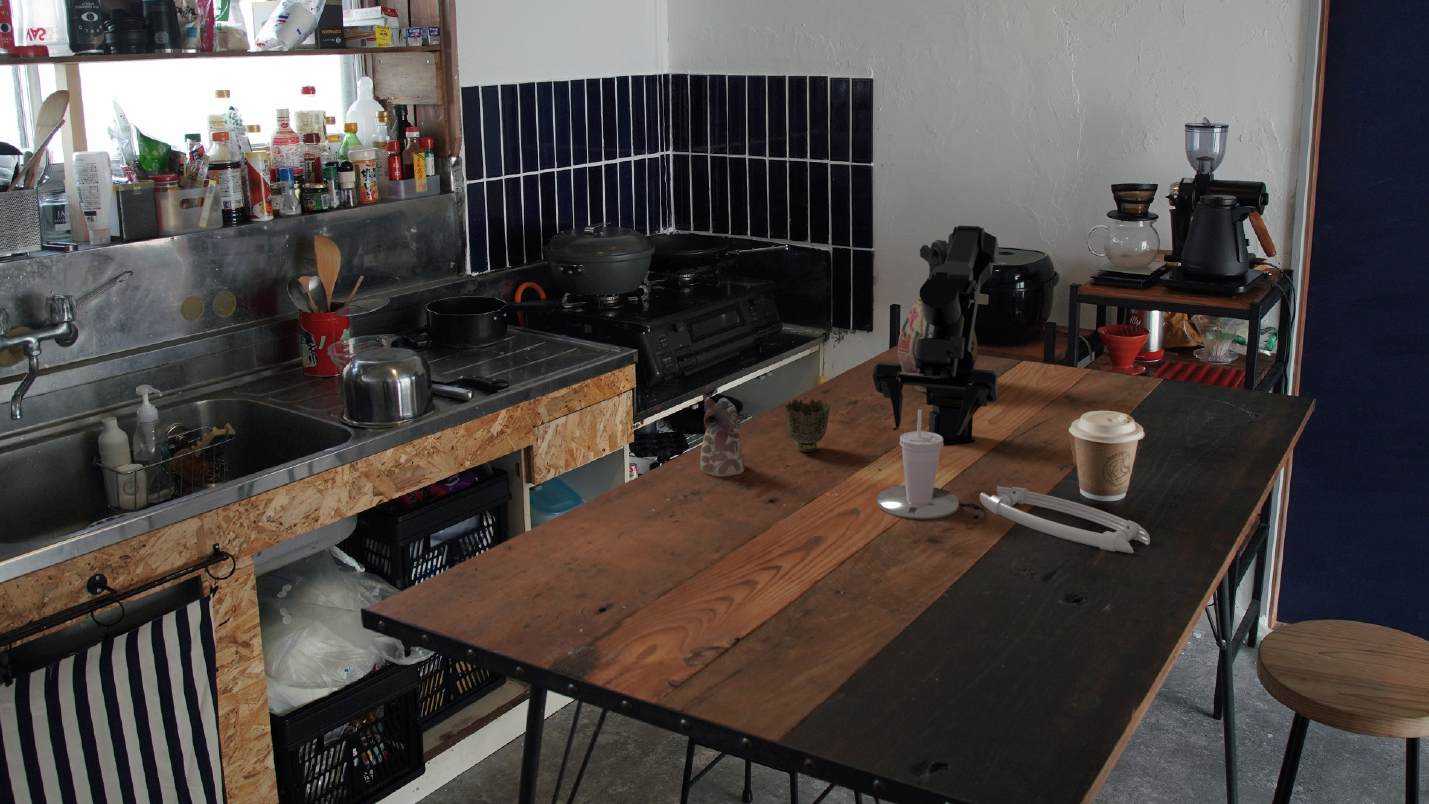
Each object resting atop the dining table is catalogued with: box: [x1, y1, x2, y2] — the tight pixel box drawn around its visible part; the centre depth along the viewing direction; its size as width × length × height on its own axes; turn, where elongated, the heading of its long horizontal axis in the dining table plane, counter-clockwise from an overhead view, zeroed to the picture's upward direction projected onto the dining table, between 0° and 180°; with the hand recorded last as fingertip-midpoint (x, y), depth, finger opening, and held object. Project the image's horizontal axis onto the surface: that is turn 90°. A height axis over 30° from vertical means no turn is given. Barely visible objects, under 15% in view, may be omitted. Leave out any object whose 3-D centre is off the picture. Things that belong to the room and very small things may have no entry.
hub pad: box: [876, 485, 960, 521], centre depth 185 cm, size 12×12×1 cm
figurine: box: [699, 397, 746, 478], centre depth 199 cm, size 7×7×12 cm
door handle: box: [979, 485, 1151, 554], centre depth 177 cm, size 3×10×25 cm
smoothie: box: [899, 409, 945, 504], centre depth 183 cm, size 6×6×14 cm
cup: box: [784, 398, 831, 453], centre depth 208 cm, size 8×7×8 cm
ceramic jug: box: [897, 239, 979, 393], centre depth 239 cm, size 17×15×30 cm
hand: (927, 431), depth 188 cm, fingers open, 9 cm apart
